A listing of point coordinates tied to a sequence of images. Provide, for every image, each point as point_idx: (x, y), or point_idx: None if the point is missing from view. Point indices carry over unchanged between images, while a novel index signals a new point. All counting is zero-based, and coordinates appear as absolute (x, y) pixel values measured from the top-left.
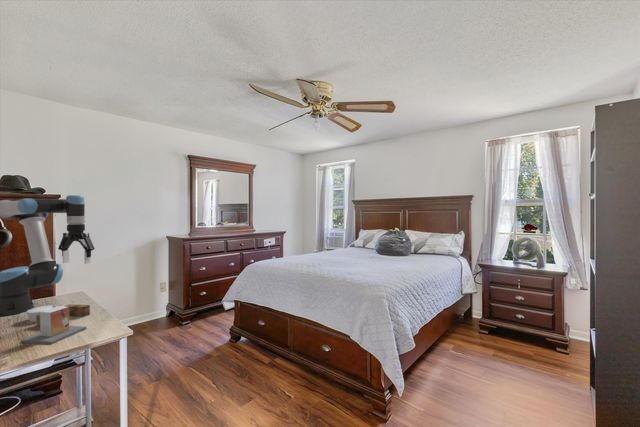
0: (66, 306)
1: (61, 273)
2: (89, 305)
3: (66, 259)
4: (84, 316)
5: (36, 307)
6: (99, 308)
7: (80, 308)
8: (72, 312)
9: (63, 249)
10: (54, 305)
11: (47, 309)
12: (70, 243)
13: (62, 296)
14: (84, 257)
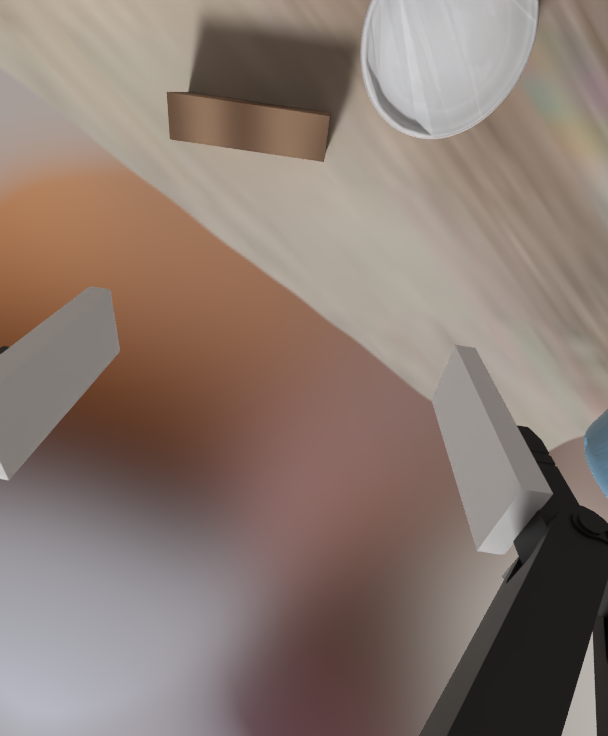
0: (310, 113)
1: (597, 467)
2: (170, 137)
3: (453, 401)
4: (188, 92)
5: (514, 79)
6: (226, 240)
7: (201, 96)
8: (269, 105)
9: (550, 528)
10: (411, 132)
11: (405, 45)
12: (437, 717)
13: (568, 424)
14: (53, 336)
